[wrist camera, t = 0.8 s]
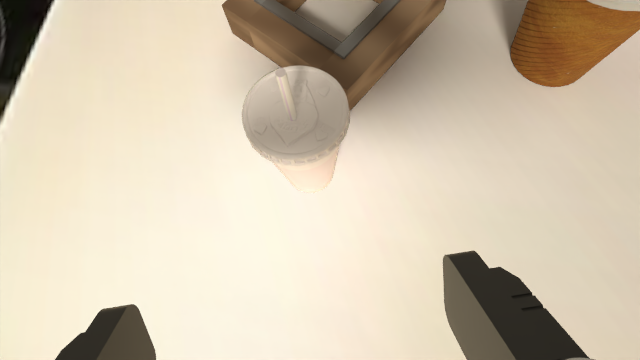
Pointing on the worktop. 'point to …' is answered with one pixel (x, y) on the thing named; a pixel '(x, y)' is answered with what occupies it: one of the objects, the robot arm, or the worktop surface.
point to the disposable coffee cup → (570, 37)
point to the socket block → (324, 50)
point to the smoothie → (298, 123)
